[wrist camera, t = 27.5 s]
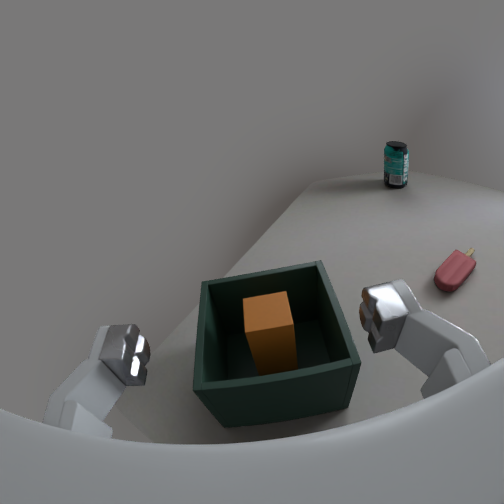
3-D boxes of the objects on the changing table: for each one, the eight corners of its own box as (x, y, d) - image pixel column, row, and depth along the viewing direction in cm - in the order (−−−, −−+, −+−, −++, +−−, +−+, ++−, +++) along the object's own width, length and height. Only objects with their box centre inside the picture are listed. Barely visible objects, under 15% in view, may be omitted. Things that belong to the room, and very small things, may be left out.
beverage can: (400, 178, 72) (402, 140, 65) (411, 188, 67) (413, 147, 60) (380, 180, 73) (380, 140, 66) (389, 189, 67) (390, 147, 61)
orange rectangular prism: (262, 385, 31) (244, 332, 25) (259, 355, 35) (242, 298, 29) (298, 378, 31) (293, 324, 25) (293, 349, 35) (286, 290, 28)
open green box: (224, 427, 28) (192, 390, 22) (223, 335, 40) (201, 281, 33) (348, 407, 27) (361, 362, 21) (321, 318, 39) (321, 260, 33)
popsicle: (484, 251, 39) (454, 290, 35) (481, 258, 40) (451, 297, 36) (463, 239, 43) (429, 274, 39) (461, 246, 44) (427, 281, 40)
